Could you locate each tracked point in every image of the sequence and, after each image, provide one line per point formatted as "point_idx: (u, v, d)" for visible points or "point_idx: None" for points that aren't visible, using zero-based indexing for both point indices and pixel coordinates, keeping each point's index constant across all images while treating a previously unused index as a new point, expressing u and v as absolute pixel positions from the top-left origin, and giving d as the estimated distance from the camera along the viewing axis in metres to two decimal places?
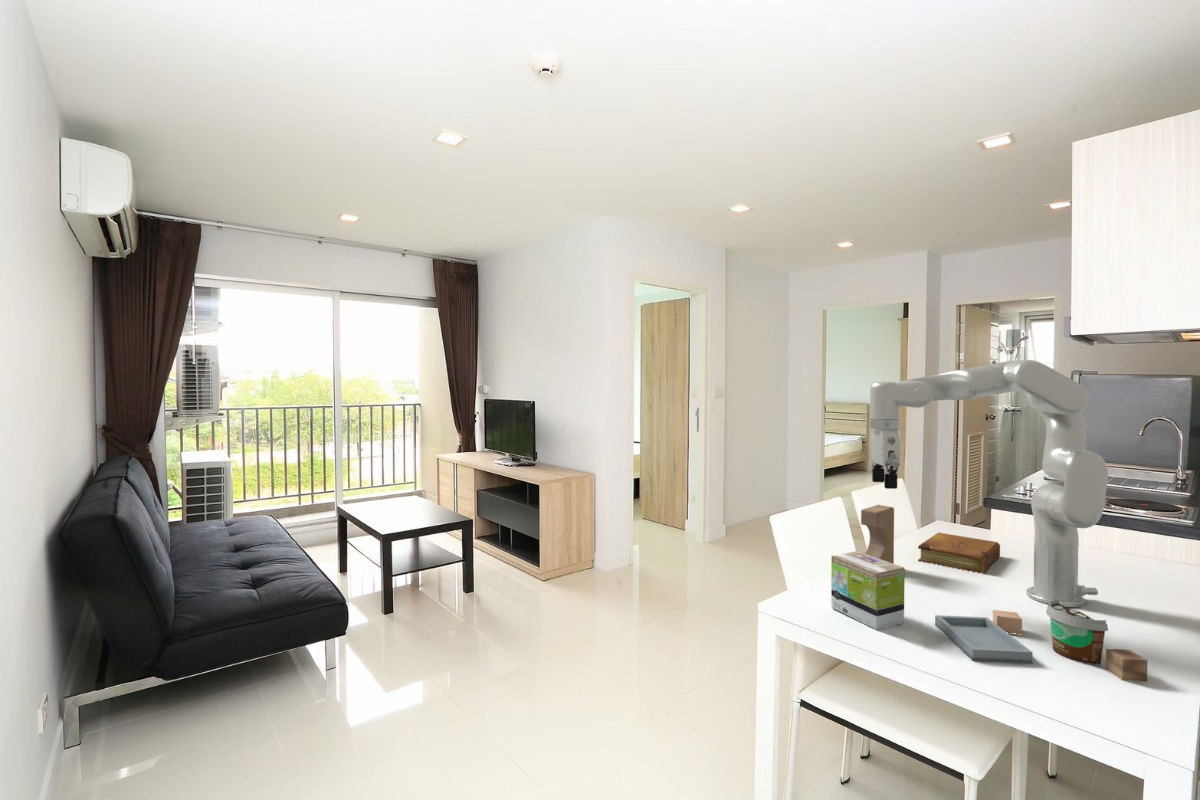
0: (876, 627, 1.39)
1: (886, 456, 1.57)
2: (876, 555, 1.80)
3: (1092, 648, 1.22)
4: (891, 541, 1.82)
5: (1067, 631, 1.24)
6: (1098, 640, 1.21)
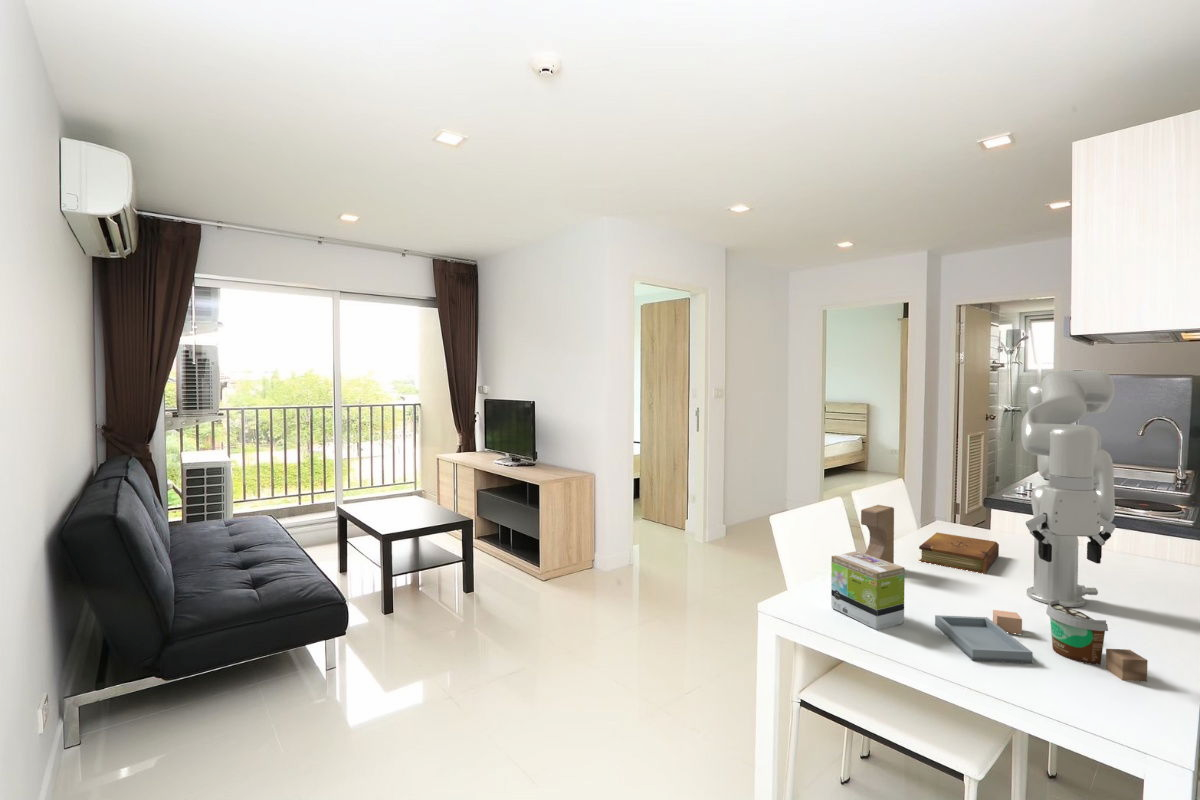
0: (876, 627, 1.39)
1: None
2: (876, 555, 1.80)
3: (1092, 648, 1.22)
4: (891, 541, 1.82)
5: (1067, 632, 1.24)
6: (1098, 640, 1.21)
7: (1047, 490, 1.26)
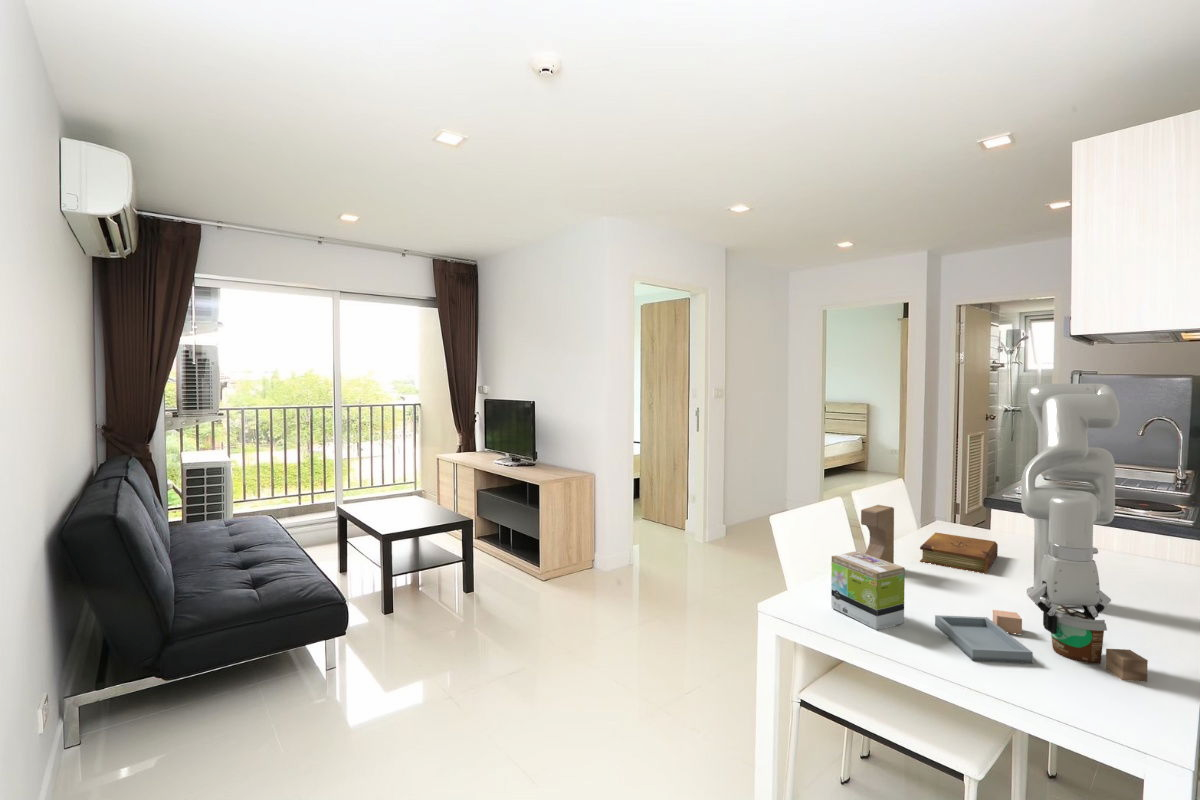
0: (876, 627, 1.39)
1: None
2: (876, 555, 1.80)
3: (1092, 648, 1.22)
4: (891, 541, 1.82)
5: (1066, 632, 1.24)
6: (1097, 640, 1.21)
7: (1046, 558, 1.26)
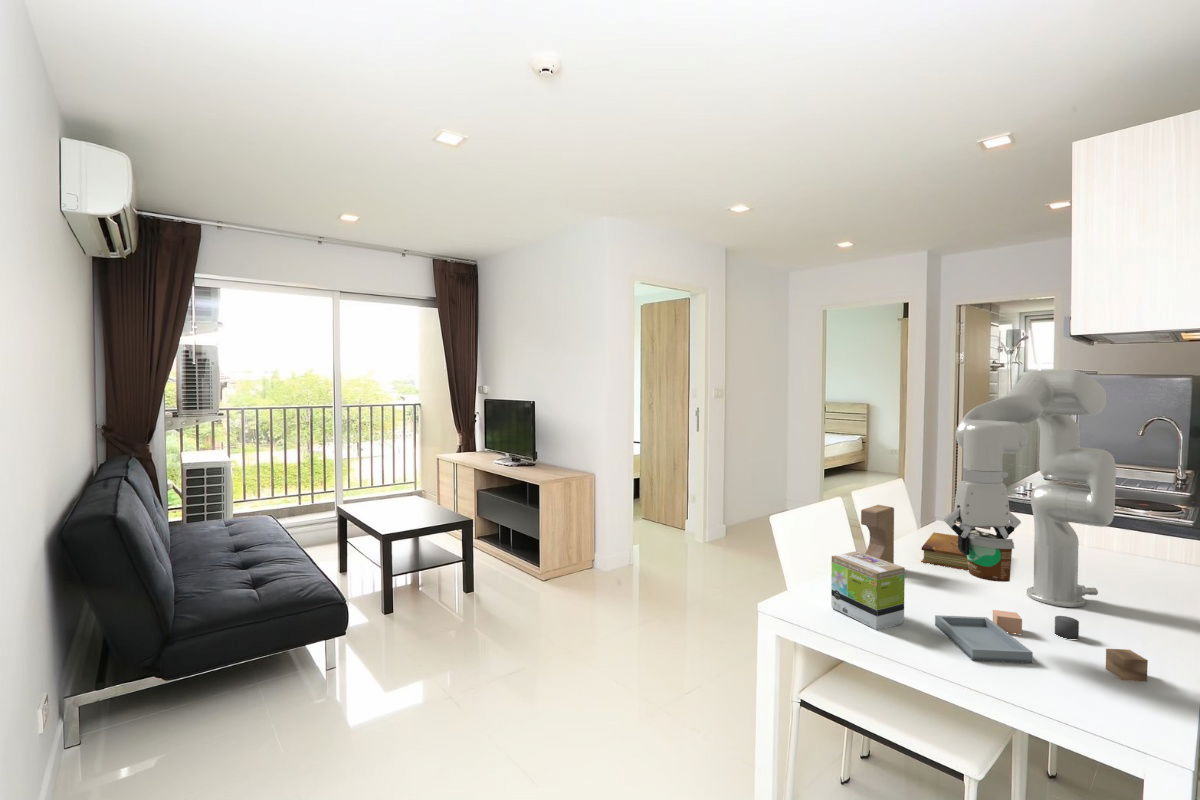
0: (876, 627, 1.39)
1: None
2: (876, 555, 1.80)
3: (1001, 566, 1.27)
4: (891, 541, 1.82)
5: (978, 552, 1.30)
6: (1006, 558, 1.27)
7: (960, 483, 1.32)
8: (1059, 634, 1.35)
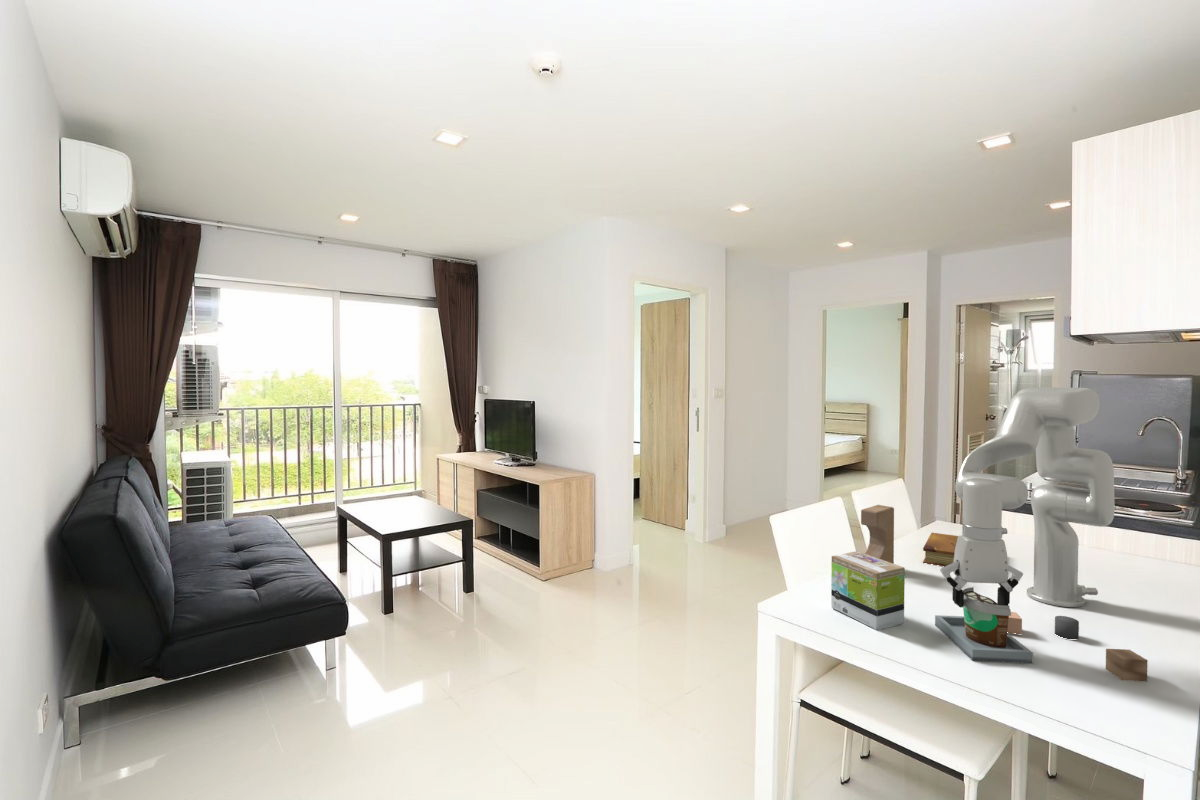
0: (876, 627, 1.39)
1: None
2: (876, 555, 1.80)
3: (997, 632, 1.28)
4: (891, 541, 1.82)
5: (975, 617, 1.30)
6: (1002, 625, 1.27)
7: (960, 538, 1.32)
8: (1059, 634, 1.35)
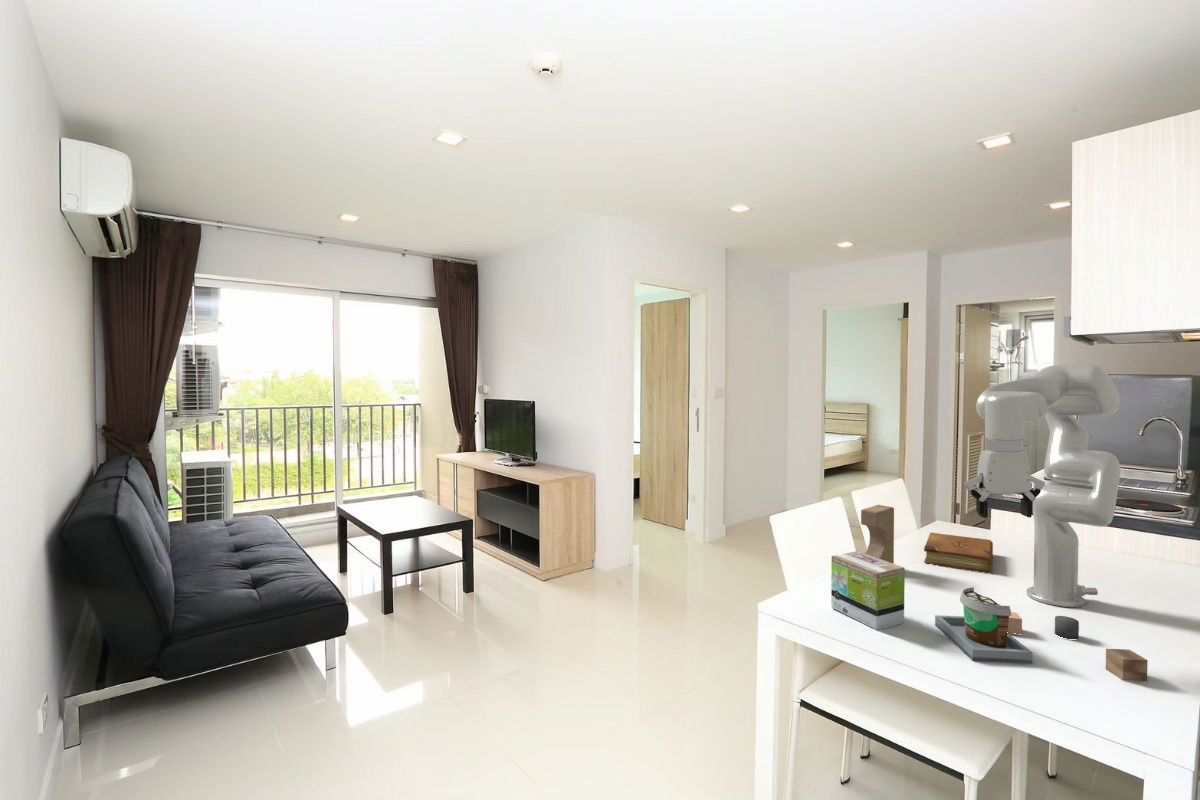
0: (876, 627, 1.39)
1: None
2: (876, 555, 1.80)
3: (997, 632, 1.28)
4: (891, 541, 1.82)
5: (975, 617, 1.30)
6: (1003, 625, 1.27)
7: (983, 452, 1.37)
8: (1059, 634, 1.35)
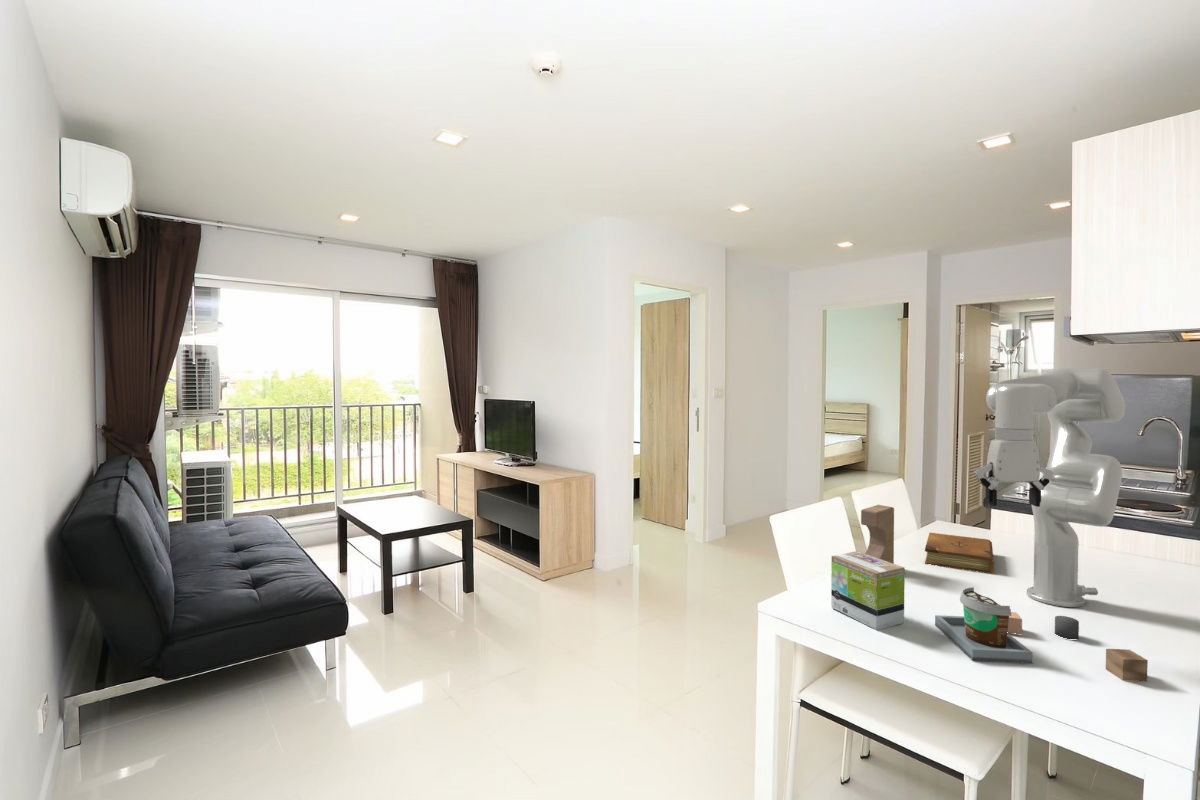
0: (876, 627, 1.39)
1: None
2: (876, 555, 1.80)
3: (997, 632, 1.28)
4: (891, 541, 1.82)
5: (975, 617, 1.30)
6: (1003, 625, 1.27)
7: (993, 442, 1.40)
8: (1059, 634, 1.35)
